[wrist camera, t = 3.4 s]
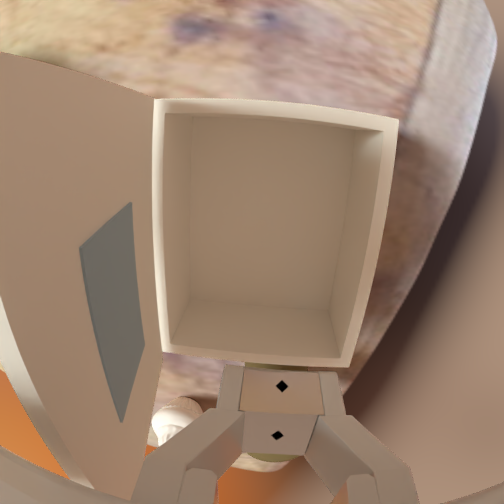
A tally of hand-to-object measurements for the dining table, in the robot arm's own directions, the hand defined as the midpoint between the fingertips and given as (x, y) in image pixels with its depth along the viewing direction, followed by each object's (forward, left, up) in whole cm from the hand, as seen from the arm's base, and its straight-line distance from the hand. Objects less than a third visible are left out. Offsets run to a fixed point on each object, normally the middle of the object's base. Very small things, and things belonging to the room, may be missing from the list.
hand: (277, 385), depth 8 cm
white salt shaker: (+22, -8, -17) cm, 29 cm away
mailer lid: (0, -6, -3) cm, 7 cm away
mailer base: (0, -1, -17) cm, 17 cm away
